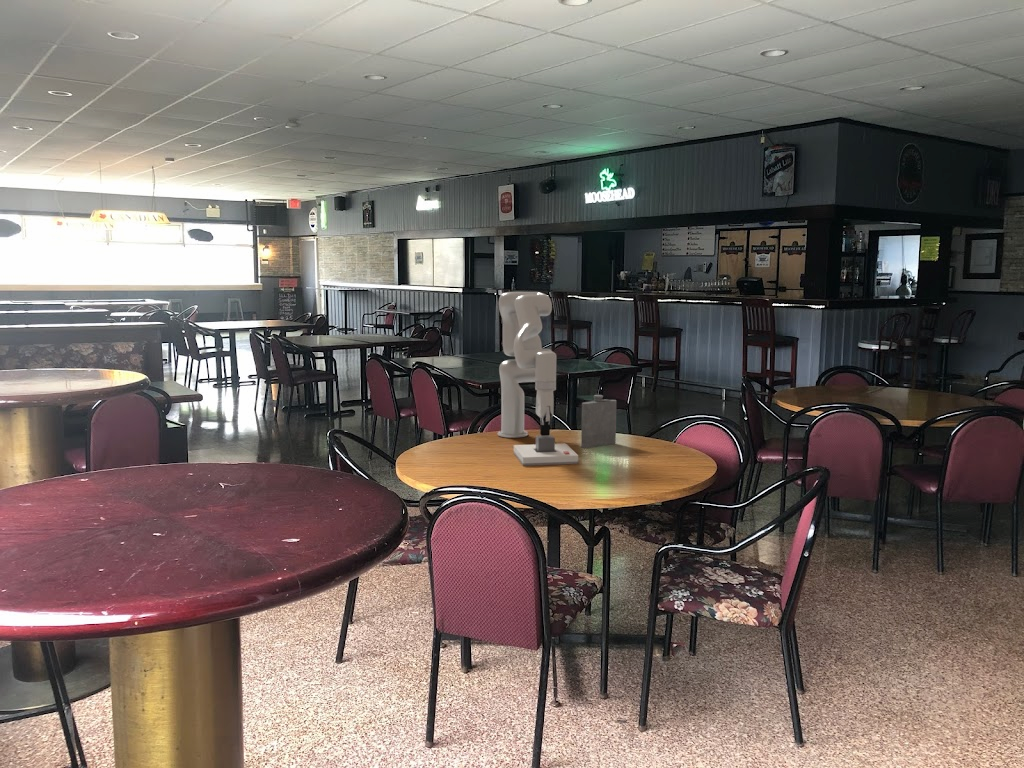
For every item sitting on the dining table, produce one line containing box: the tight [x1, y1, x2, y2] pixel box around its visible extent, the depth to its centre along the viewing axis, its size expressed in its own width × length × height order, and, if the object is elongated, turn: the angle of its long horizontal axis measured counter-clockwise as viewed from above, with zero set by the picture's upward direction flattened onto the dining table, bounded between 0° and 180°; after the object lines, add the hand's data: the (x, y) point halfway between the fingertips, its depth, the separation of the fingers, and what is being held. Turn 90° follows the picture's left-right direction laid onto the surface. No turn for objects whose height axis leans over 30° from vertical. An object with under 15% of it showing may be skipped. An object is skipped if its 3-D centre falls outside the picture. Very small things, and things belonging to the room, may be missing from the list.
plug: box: [535, 434, 556, 452], centre depth 293 cm, size 5×6×7 cm
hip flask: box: [580, 394, 617, 449], centre depth 314 cm, size 16×4×20 cm, turn 121°
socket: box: [513, 442, 579, 467], centre depth 294 cm, size 20×20×4 cm
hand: (544, 434), depth 293 cm, fingers closed
